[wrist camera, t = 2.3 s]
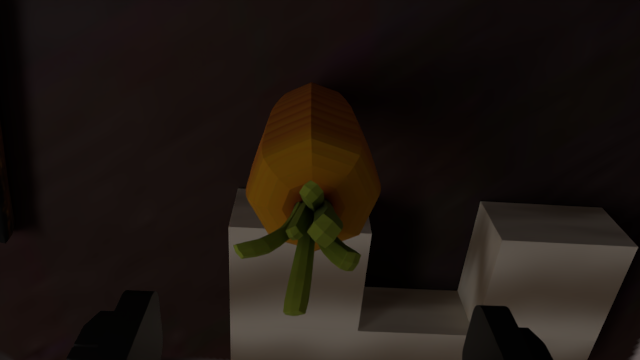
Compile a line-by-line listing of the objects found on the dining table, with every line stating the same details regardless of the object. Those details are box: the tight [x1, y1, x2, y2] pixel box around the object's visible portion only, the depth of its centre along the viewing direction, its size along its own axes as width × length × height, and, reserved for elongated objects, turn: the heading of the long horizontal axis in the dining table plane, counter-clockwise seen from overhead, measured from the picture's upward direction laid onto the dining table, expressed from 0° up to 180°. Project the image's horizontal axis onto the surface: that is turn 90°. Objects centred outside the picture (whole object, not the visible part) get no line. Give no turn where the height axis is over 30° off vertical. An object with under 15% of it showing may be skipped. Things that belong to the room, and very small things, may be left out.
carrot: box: [233, 82, 381, 316], centre depth 21 cm, size 5×5×15 cm
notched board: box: [229, 188, 638, 360], centre depth 32 cm, size 12×22×4 cm, turn 86°
